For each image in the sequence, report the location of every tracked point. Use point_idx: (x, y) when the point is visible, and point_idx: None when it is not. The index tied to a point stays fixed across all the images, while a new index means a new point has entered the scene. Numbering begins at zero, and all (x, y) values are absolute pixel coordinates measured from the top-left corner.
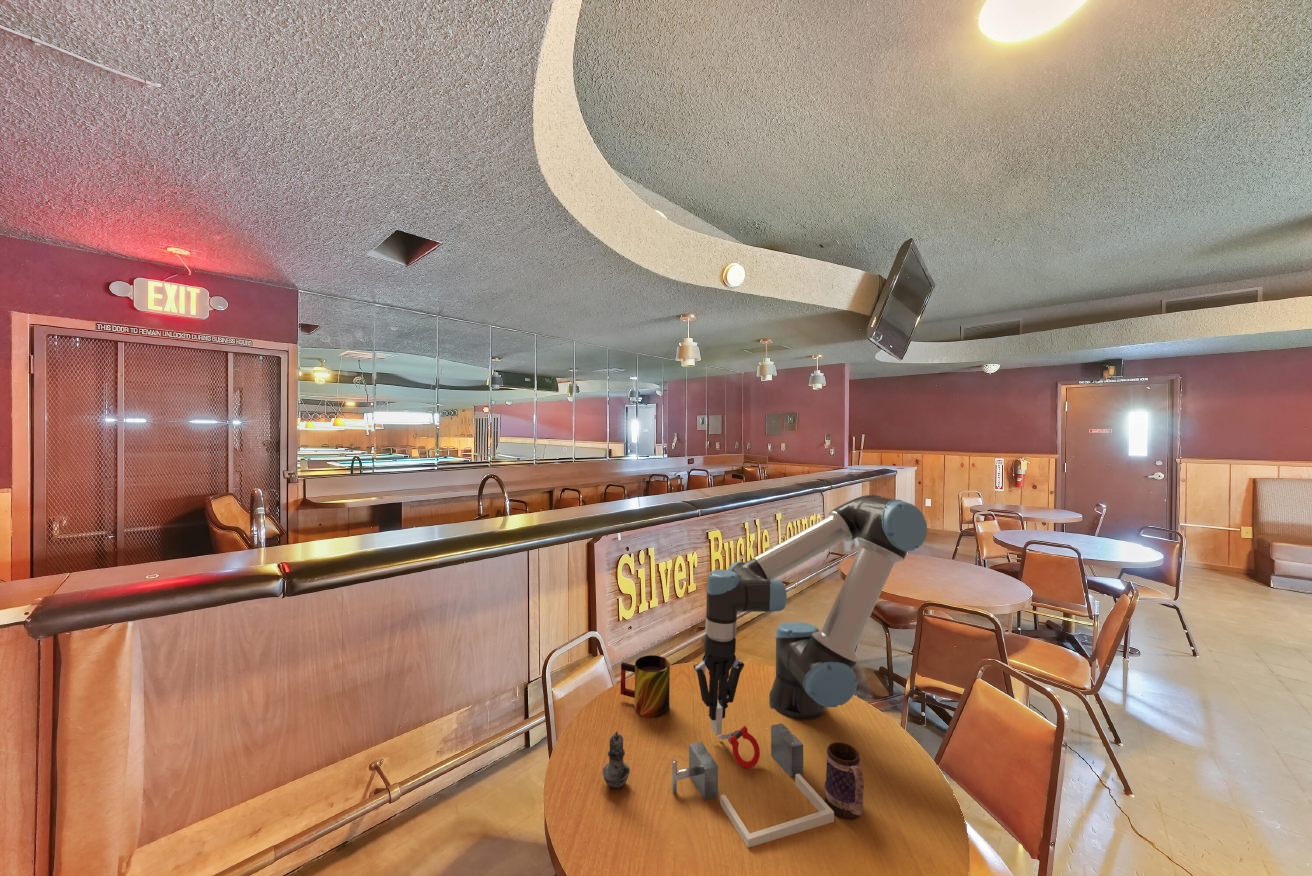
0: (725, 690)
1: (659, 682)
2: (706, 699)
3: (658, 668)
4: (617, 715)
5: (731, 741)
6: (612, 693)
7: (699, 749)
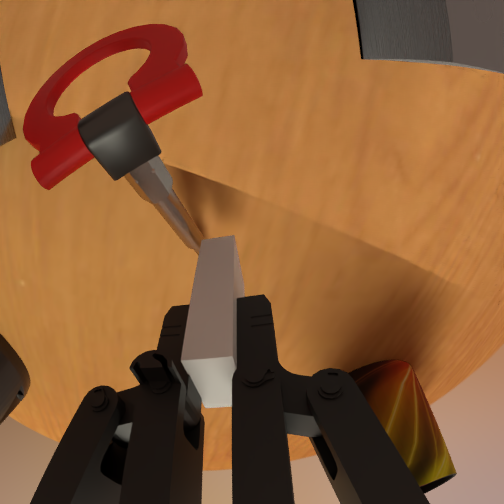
0: (140, 498)
1: (404, 455)
2: (366, 425)
3: None
4: (454, 358)
5: (183, 68)
6: None
7: (480, 4)
